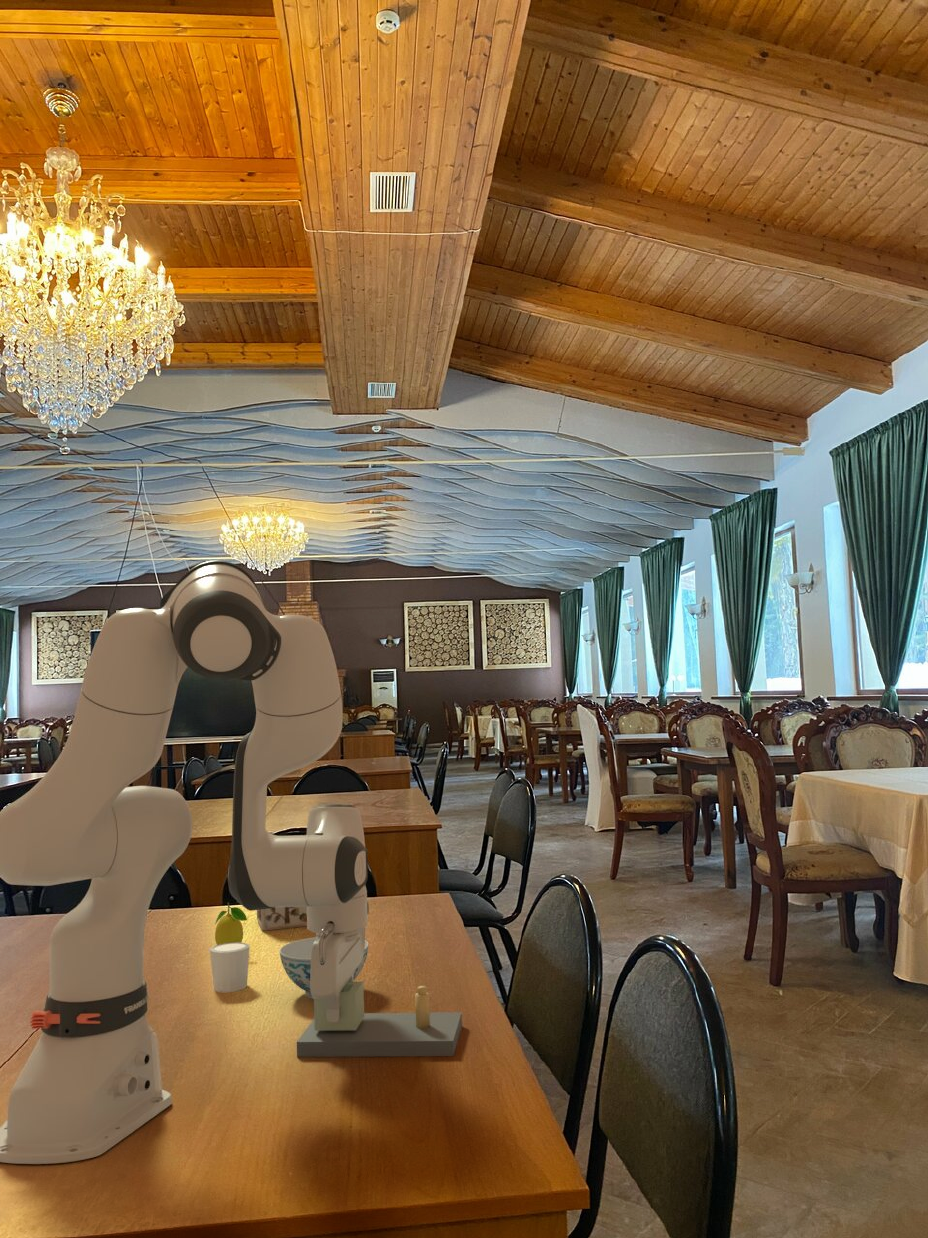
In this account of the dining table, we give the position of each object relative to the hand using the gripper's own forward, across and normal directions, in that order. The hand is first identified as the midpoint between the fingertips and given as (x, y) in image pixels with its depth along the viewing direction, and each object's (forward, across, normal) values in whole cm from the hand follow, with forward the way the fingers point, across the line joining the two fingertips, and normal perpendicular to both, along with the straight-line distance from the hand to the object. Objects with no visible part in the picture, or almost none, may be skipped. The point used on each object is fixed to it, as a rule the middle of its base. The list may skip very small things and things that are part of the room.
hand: (339, 1012), depth 140 cm
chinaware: (+4, +23, +8) cm, 25 cm away
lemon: (+4, +50, +33) cm, 60 cm away
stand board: (+4, 0, -6) cm, 7 cm away
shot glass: (+4, +27, +26) cm, 37 cm away
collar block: (+2, 0, 0) cm, 2 cm away
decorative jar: (+4, +75, +29) cm, 81 cm away
